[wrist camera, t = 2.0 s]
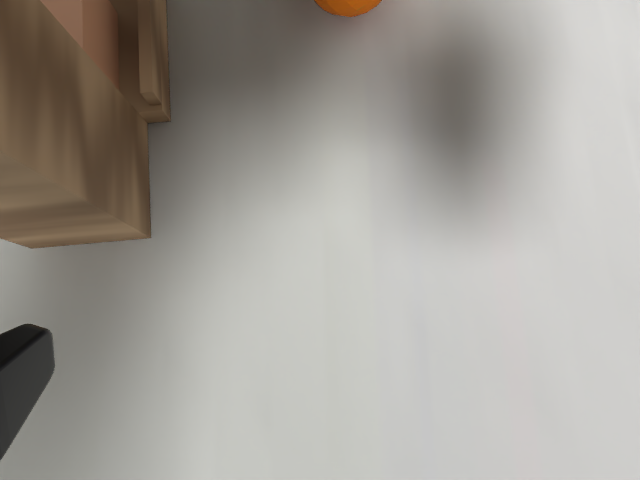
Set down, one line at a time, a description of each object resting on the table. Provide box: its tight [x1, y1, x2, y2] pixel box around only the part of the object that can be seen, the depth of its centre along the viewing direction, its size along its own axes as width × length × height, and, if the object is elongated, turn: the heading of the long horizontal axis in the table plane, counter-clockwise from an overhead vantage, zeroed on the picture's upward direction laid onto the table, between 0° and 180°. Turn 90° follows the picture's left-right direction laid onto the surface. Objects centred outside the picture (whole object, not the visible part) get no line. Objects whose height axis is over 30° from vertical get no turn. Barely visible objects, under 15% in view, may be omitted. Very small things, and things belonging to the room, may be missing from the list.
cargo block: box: [40, 0, 119, 90], centre depth 23 cm, size 4×4×4 cm
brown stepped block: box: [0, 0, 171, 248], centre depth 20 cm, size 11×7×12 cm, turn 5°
